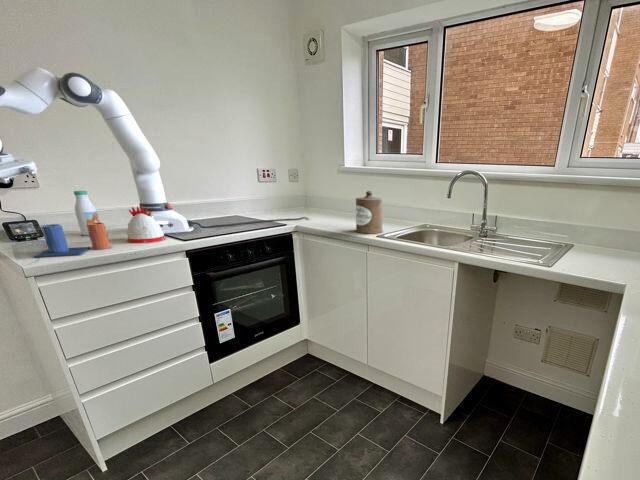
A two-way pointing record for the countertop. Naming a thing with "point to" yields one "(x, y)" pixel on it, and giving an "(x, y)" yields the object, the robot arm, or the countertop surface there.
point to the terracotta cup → (98, 235)
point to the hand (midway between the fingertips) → (21, 177)
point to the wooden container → (369, 214)
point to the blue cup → (55, 238)
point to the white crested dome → (143, 228)
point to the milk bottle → (84, 211)
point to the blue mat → (70, 253)
